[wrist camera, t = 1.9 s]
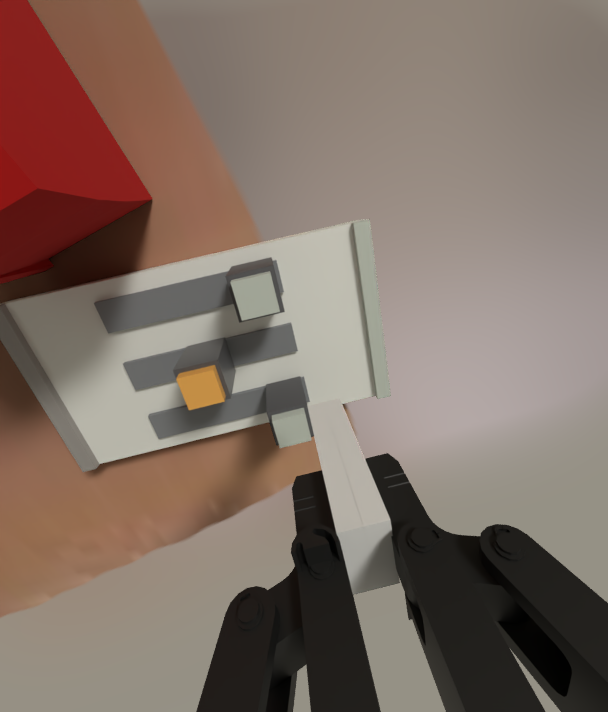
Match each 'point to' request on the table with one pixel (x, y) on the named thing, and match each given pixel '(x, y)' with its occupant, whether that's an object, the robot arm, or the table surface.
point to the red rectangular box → (51, 152)
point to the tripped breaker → (205, 373)
